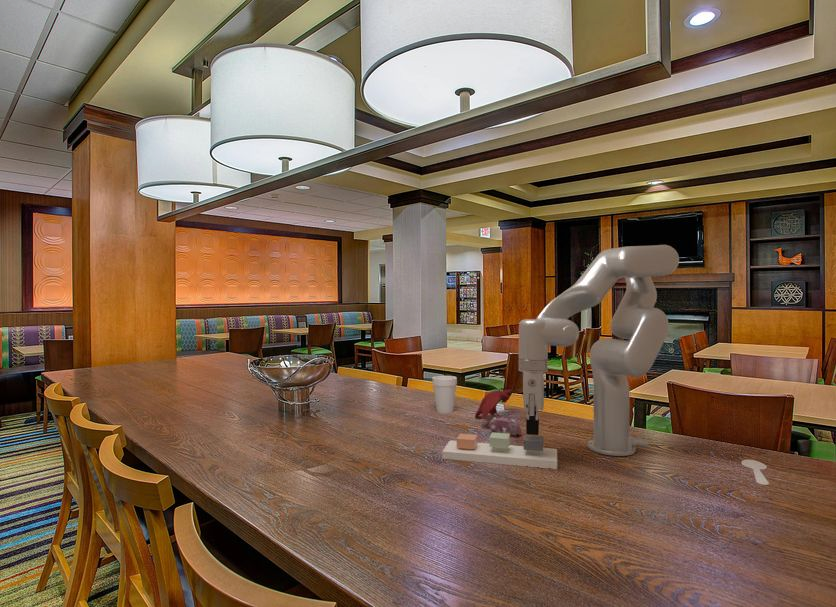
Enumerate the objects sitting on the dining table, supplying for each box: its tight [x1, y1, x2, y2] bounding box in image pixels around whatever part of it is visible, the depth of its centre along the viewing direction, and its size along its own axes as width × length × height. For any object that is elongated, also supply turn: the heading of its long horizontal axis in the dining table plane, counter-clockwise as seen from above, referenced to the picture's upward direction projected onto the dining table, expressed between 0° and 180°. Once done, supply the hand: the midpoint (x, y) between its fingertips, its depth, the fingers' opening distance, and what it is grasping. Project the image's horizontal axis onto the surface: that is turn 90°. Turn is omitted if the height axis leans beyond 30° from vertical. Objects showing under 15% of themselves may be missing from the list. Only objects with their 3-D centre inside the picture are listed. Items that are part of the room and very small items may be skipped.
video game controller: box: [488, 416, 522, 437], centre depth 147 cm, size 10×5×7 cm, turn 62°
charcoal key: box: [523, 434, 545, 451], centre depth 124 cm, size 5×5×2 cm
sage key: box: [488, 431, 511, 448], centre depth 126 cm, size 5×5×2 cm
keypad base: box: [441, 439, 558, 470], centre depth 126 cm, size 30×10×2 cm, turn 74°
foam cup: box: [432, 375, 458, 414], centre depth 178 cm, size 10×9×13 cm
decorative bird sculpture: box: [474, 389, 514, 421], centre depth 166 cm, size 28×9×15 cm
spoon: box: [740, 458, 770, 486], centre depth 115 cm, size 5×18×1 cm, turn 151°
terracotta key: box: [456, 433, 479, 449], centre depth 129 cm, size 5×5×2 cm
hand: (532, 433), depth 124 cm, fingers closed
